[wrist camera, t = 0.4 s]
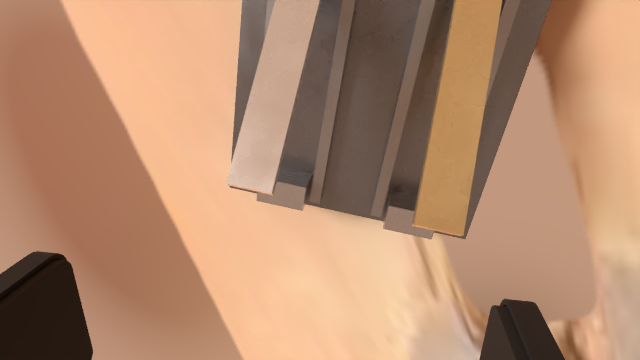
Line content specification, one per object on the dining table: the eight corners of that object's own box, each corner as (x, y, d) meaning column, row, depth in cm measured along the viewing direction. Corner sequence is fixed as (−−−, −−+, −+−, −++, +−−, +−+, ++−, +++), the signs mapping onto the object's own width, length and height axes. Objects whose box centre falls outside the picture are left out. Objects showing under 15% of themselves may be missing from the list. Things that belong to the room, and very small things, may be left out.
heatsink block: (265, -105, 35) (235, -128, 29) (556, -60, 33) (595, -74, 26) (242, 172, 46) (217, 201, 40) (459, 219, 44) (470, 257, 37)
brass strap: (464, -56, 30) (469, -69, 29) (506, -50, 29) (513, -62, 28) (411, 225, 26) (414, 224, 25) (458, 236, 26) (464, 235, 25)
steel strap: (301, -82, 31) (299, -95, 30) (341, -76, 31) (341, -89, 29) (230, 186, 27) (225, 183, 26) (274, 195, 27) (270, 192, 26)
